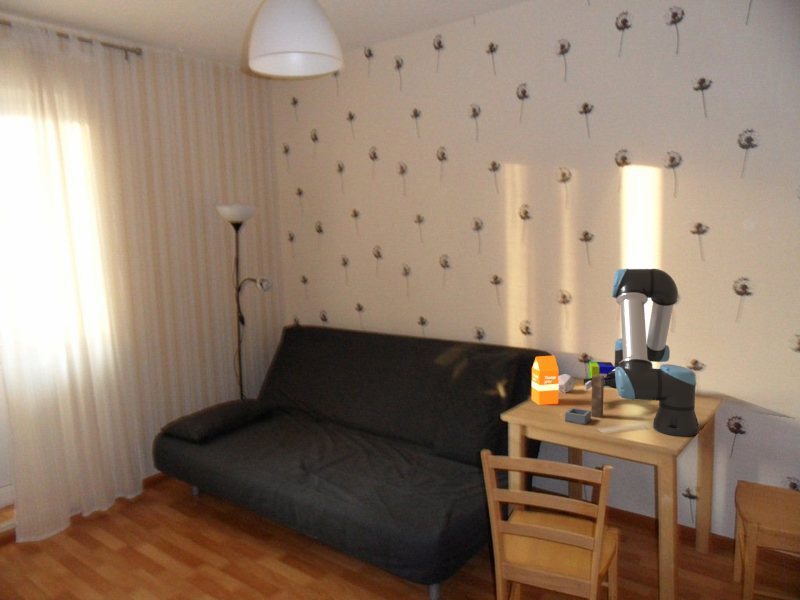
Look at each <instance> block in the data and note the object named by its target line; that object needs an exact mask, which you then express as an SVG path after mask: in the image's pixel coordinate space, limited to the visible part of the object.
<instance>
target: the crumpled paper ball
mask: <svg viewBox="0 0 800 600" xmlns="http://www.w3.org/2000/svg"><path fill="white" fill-rule="evenodd" d="M575 381H576V380H575V379H574V378H573V377H572V376H571V375H569V374H567V373H564V374H560V375H558V391H560V392H562V393H563V392H564V393H563V394H566V392H567V393H569V391H570V392H572V391H573V390H574V388H575V383H576V382H575Z"/></svg>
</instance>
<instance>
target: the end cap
mask: <svg viewBox="0 0 800 600" xmlns="http://www.w3.org/2000/svg"><path fill="white" fill-rule="evenodd" d="M591 420H592V416H591V410H589V409H582V408H577V407H571V408H569V409H568V410H567V411H565V413H564V421H565V422H567V423H571V424H577V425H582V426H585V425H586V424H587V423H589V422H590V421H591Z"/></svg>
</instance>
